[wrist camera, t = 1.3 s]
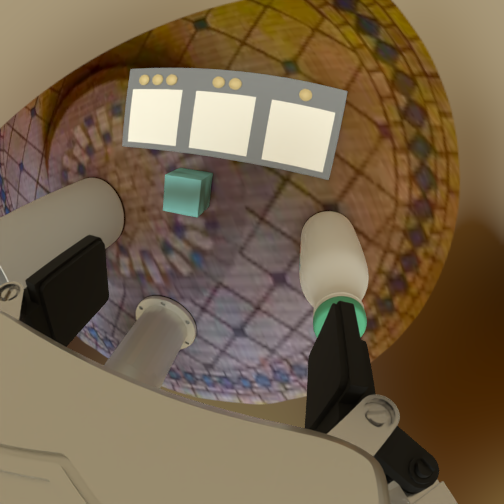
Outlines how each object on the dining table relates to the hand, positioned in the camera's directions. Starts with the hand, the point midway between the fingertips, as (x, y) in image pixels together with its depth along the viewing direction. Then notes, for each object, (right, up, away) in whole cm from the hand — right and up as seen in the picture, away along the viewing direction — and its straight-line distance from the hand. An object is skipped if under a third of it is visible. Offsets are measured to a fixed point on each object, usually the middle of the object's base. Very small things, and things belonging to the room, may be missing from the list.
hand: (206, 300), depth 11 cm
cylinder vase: (-25, +9, +35) cm, 44 cm away
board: (-2, +20, +24) cm, 32 cm away
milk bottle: (+13, +4, +30) cm, 32 cm away
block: (-6, +11, +30) cm, 33 cm away
